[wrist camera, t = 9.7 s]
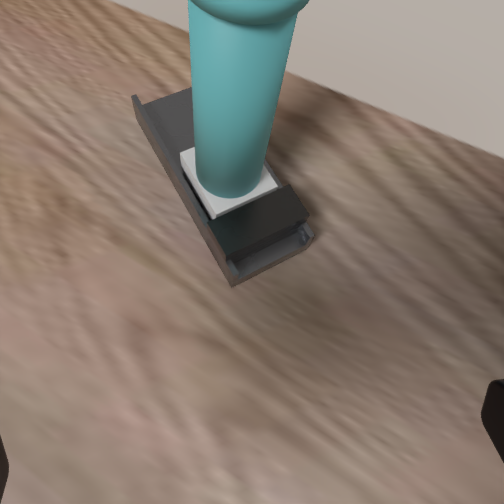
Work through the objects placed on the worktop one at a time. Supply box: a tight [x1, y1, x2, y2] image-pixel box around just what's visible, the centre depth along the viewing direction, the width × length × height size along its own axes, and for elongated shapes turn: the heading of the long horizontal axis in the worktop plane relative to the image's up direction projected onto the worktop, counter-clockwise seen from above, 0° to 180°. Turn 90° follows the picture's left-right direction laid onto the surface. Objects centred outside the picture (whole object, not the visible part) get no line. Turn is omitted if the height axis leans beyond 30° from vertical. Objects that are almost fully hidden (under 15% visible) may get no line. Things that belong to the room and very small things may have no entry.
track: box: [131, 87, 315, 288], centre depth 23 cm, size 12×5×3 cm, turn 30°
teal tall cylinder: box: [180, 0, 309, 220], centre depth 17 cm, size 4×4×13 cm
